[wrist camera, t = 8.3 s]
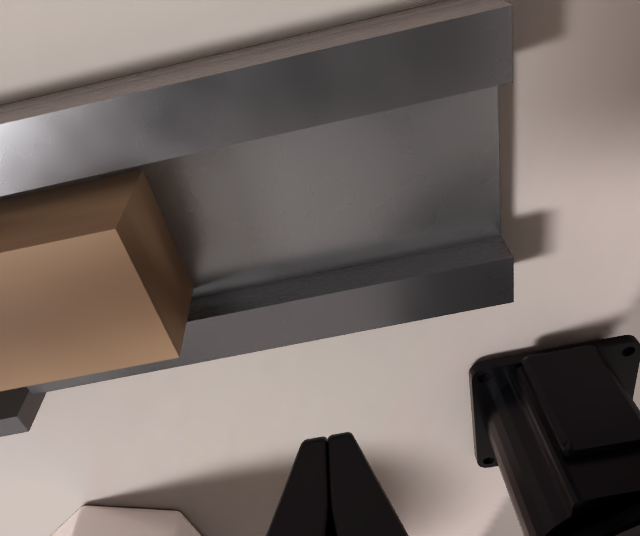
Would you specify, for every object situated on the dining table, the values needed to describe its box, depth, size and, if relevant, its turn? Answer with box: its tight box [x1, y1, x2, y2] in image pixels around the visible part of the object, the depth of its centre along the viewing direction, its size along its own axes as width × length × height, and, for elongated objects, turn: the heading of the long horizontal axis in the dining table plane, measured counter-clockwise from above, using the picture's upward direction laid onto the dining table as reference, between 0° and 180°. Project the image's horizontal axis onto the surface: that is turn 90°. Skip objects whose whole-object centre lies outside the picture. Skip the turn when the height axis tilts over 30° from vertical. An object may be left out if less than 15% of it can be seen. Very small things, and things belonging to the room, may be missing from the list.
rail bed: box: [0, 0, 514, 395], centre depth 17 cm, size 9×16×2 cm, turn 102°
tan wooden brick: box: [0, 170, 194, 391], centre depth 16 cm, size 4×7×3 cm, turn 101°
